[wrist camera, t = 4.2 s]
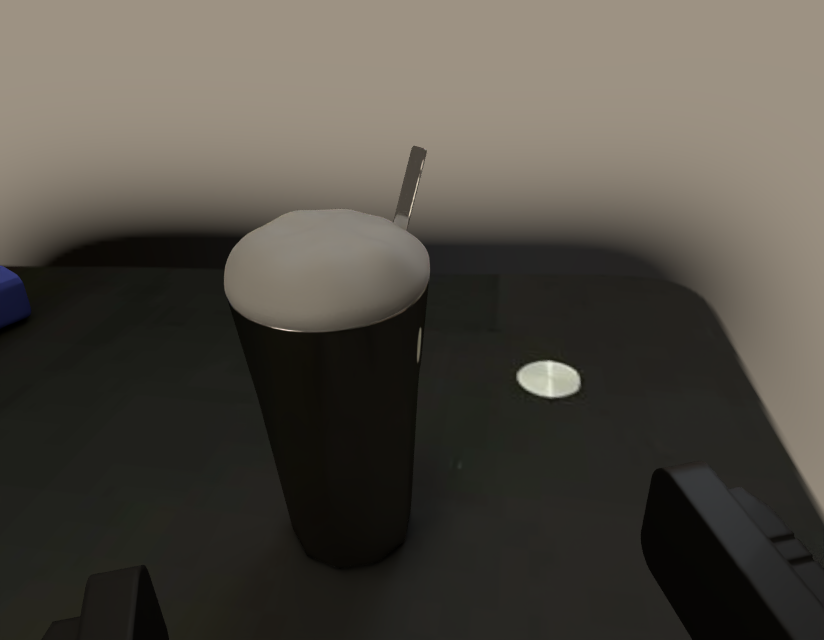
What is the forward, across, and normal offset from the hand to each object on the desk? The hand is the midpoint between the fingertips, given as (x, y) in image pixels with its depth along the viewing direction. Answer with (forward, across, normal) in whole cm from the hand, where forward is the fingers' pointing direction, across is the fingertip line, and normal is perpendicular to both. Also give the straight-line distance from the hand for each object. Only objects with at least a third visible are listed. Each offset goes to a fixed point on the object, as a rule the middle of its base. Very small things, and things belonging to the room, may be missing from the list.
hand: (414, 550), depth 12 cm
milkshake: (+7, 0, +7) cm, 10 cm away
